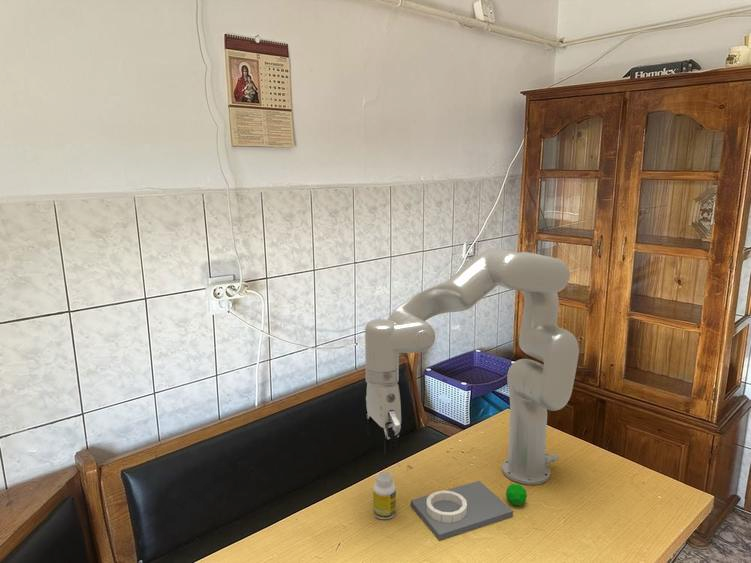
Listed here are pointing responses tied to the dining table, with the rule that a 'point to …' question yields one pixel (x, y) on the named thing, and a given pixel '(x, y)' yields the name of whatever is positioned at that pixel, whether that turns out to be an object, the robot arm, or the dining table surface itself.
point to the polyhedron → (516, 494)
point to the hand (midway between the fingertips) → (382, 443)
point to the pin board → (475, 511)
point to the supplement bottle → (384, 496)
